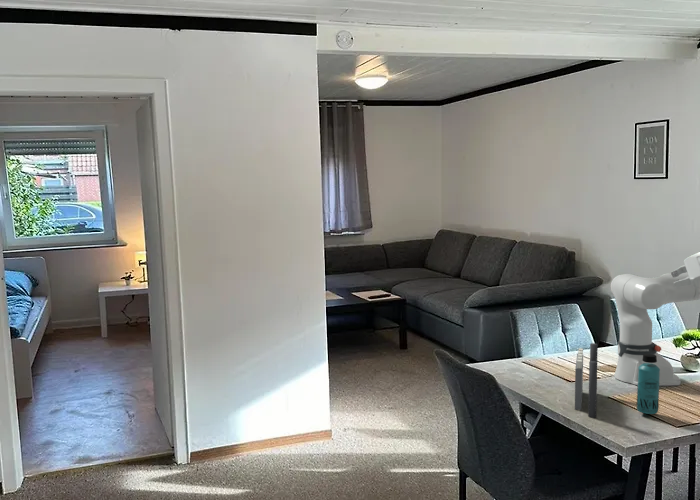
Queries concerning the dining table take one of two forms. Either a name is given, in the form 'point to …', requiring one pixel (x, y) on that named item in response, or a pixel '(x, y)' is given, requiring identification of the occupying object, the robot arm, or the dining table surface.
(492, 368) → the dining table surface
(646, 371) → the beverage bottle
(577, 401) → the breaker panel
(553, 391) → the dining table surface
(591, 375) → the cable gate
